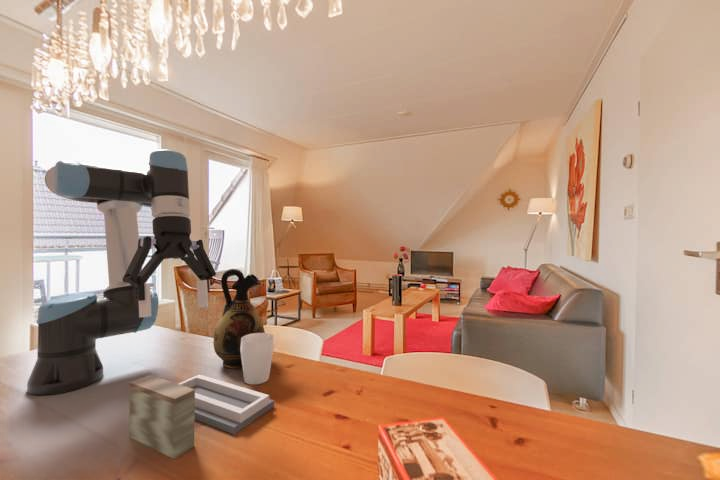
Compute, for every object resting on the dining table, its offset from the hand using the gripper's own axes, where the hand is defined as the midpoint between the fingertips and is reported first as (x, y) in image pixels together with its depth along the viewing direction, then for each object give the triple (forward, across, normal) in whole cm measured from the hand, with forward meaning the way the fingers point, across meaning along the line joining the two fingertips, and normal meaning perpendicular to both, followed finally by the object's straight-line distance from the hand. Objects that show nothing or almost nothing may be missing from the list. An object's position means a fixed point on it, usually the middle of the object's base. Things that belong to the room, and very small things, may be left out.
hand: (176, 311), depth 70 cm
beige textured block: (+24, -5, -1) cm, 25 cm away
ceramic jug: (+20, +30, +15) cm, 39 cm away
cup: (+23, +24, +1) cm, 33 cm away
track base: (+24, +9, 0) cm, 25 cm away
